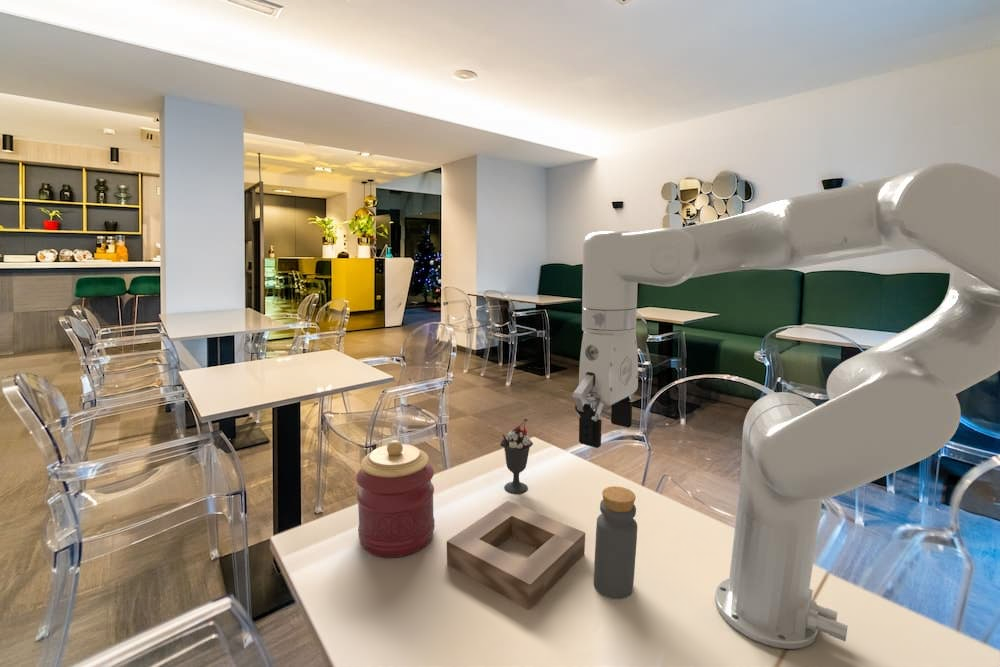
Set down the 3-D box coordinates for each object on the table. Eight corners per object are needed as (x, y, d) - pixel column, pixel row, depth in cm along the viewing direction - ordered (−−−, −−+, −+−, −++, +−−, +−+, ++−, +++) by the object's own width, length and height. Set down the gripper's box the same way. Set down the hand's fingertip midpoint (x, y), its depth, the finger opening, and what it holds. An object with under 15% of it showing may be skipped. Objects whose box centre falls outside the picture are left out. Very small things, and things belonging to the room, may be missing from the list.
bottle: (629, 574, 76) (635, 485, 74) (636, 601, 71) (643, 505, 68) (591, 571, 77) (596, 483, 74) (595, 598, 71) (600, 503, 68)
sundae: (537, 485, 104) (539, 418, 101) (521, 499, 98) (523, 428, 96) (510, 477, 107) (512, 412, 105) (494, 490, 102) (495, 421, 99)
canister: (352, 526, 88) (347, 433, 85) (421, 509, 94) (419, 422, 91) (367, 568, 77) (363, 463, 74) (445, 546, 83) (444, 448, 80)
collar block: (584, 554, 81) (585, 532, 80) (529, 610, 69) (530, 584, 68) (507, 520, 91) (507, 500, 90) (446, 563, 78) (446, 541, 78)
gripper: (603, 330, 60) (601, 461, 63) (658, 315, 74) (654, 423, 77) (552, 325, 65) (552, 447, 68) (612, 311, 78) (610, 414, 81)
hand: (606, 434), depth 72 cm, fingers open, 9 cm apart
